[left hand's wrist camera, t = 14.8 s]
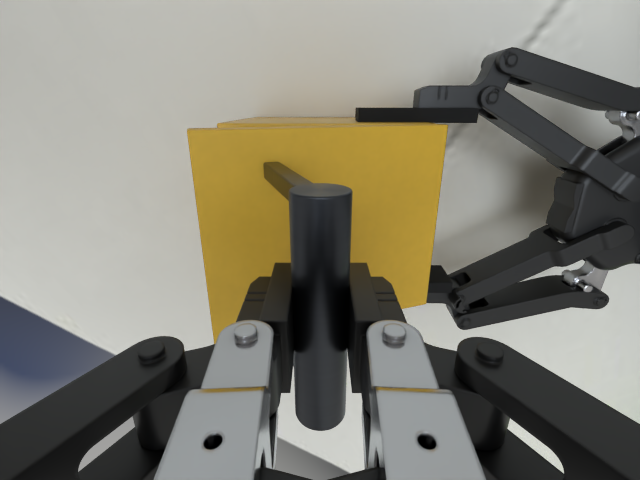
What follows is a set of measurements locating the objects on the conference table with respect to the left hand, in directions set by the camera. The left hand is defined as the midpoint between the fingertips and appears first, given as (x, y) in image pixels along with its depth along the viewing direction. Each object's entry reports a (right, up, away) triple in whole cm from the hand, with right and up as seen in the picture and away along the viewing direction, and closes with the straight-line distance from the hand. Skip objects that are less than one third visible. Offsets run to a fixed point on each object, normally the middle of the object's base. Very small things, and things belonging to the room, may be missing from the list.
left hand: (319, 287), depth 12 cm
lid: (0, +2, +6) cm, 6 cm away
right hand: (+2, +4, +11) cm, 11 cm away
